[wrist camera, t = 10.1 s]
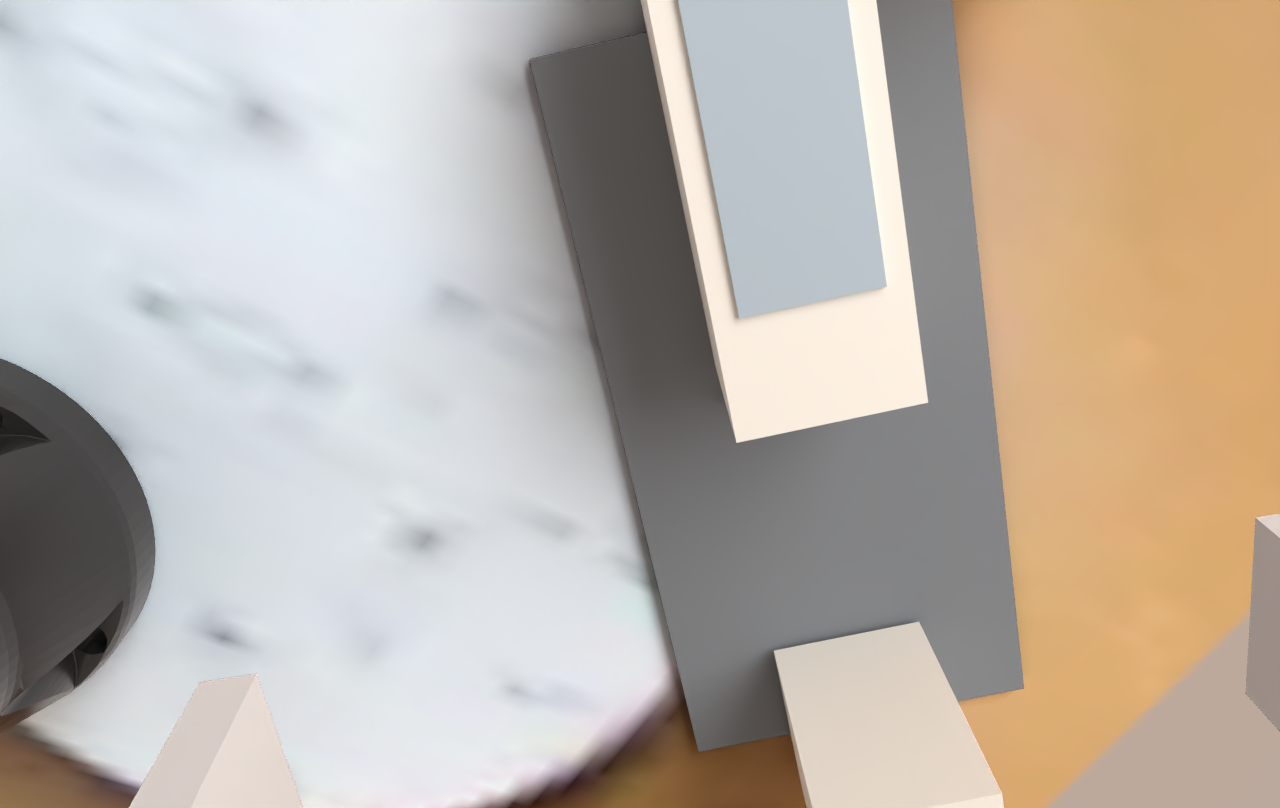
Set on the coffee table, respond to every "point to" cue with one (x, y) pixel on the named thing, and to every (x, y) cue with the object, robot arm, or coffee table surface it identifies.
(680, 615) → the mat
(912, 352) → the cream long box
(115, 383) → the coffee table surface
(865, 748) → the box with pink panel
